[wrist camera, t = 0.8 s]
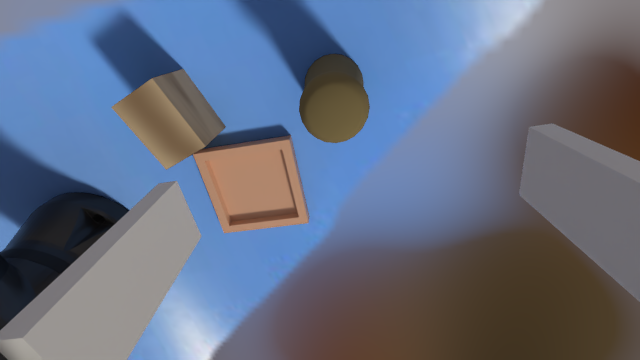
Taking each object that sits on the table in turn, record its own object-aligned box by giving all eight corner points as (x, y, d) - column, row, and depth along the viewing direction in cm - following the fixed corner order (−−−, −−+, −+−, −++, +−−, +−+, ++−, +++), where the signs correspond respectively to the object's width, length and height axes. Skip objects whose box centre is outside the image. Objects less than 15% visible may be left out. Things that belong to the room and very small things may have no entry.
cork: (301, 55, 29) (286, 71, 19) (363, 51, 29) (379, 65, 19) (307, 116, 32) (295, 156, 22) (363, 113, 32) (377, 152, 22)
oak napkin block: (192, 147, 34) (166, 169, 29) (148, 93, 32) (111, 107, 26) (226, 126, 33) (205, 146, 28) (183, 68, 30) (151, 78, 25)
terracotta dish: (227, 226, 39) (224, 233, 38) (198, 149, 34) (193, 154, 33) (309, 216, 38) (308, 223, 37) (290, 135, 33) (289, 139, 32)
